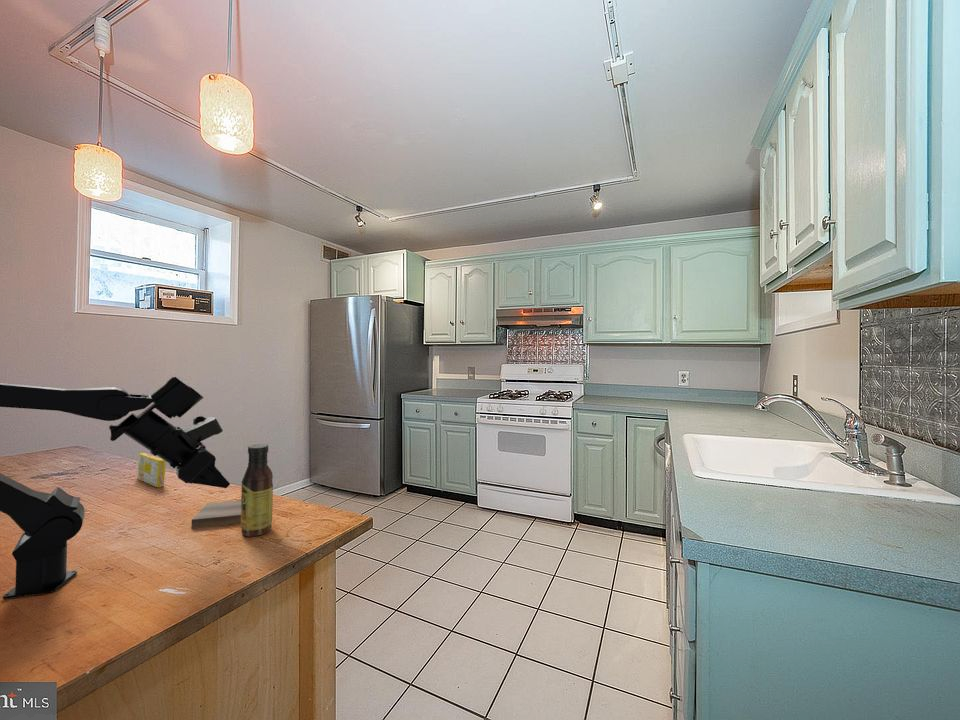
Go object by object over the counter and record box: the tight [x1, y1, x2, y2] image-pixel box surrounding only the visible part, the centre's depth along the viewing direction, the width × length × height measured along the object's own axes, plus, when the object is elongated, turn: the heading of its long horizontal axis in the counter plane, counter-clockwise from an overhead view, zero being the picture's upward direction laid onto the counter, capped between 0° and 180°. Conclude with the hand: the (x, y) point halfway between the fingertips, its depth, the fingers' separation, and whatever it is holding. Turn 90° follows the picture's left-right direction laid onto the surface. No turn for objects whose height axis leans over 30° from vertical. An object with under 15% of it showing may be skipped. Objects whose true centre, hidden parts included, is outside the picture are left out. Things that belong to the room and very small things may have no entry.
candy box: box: [136, 452, 167, 488], centre depth 122 cm, size 16×2×8 cm, turn 58°
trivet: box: [191, 499, 241, 529], centre depth 97 cm, size 11×11×2 cm
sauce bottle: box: [240, 443, 274, 537], centre depth 89 cm, size 7×6×20 cm
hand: (223, 480), depth 84 cm, fingers open, 9 cm apart
